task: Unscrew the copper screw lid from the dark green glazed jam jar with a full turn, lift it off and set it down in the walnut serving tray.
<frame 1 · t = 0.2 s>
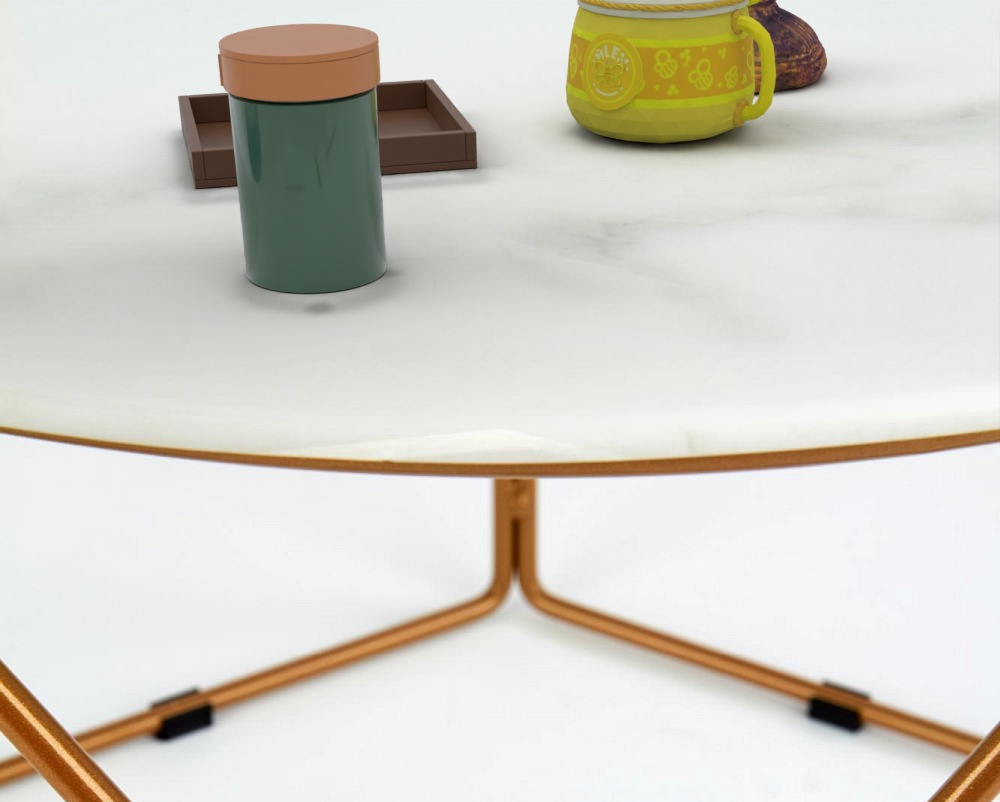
bell: (733, 77, 111), on the table
mug: (672, 134, 99), on the table
lid: (299, 46, 73), point 10 cm above the table, screwed on, not yet turned
tray: (323, 147, 97), on the table
jar: (316, 270, 79), on the table
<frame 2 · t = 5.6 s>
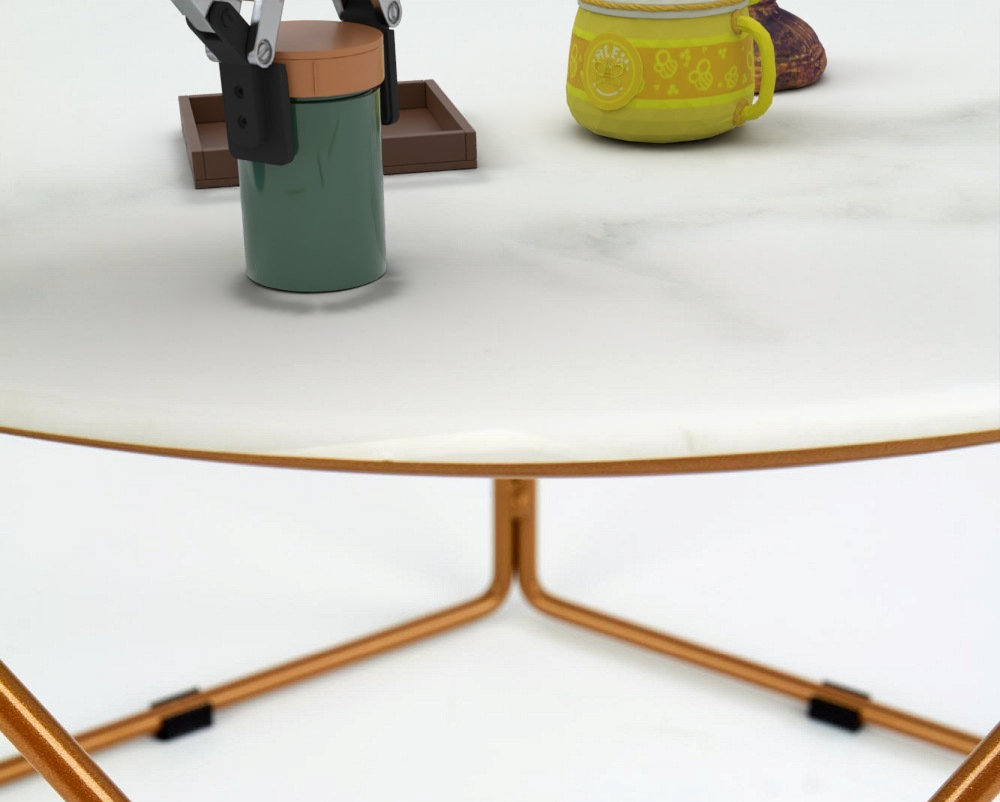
hand: (316, 136, 75), 6 cm above the table, tool pointing down, fingers closed on lid, 6 cm apart
lid: (303, 42, 73), point 10 cm above the table, turned 91° so far, risen 0.1 cm, still on its thread, touching gripper
jar: (316, 269, 79), on the table, touching gripper
everything else where it was.
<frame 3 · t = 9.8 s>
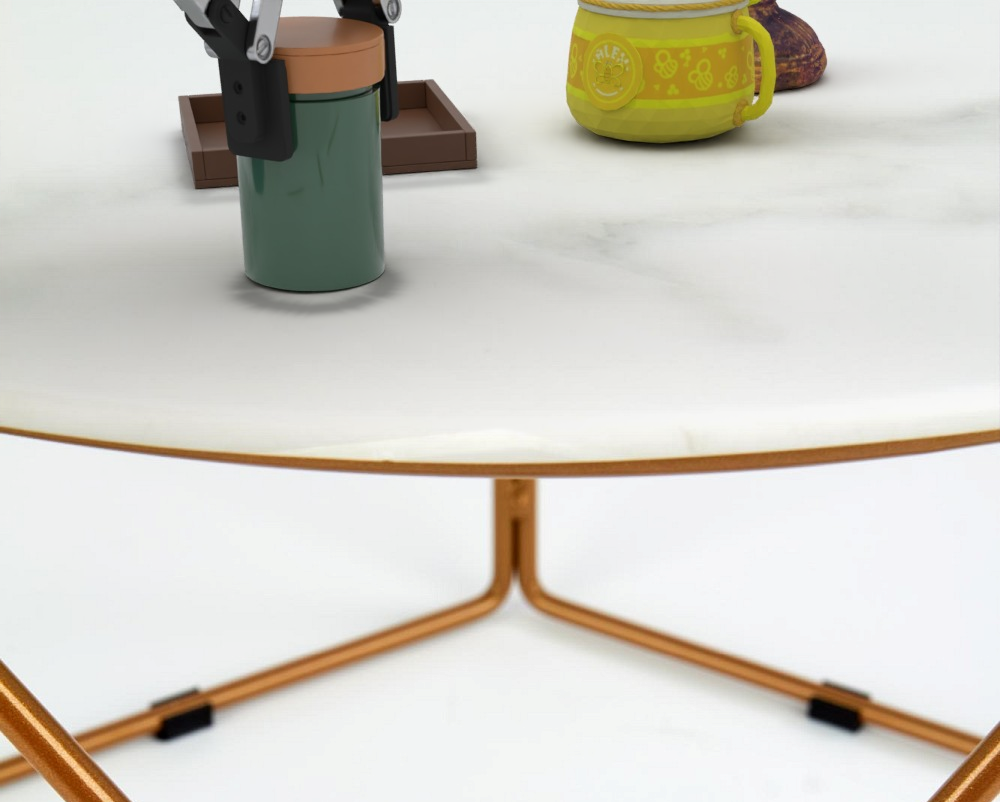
hand: (316, 132, 75), 6 cm above the table, tool pointing down, fingers closed on lid, 6 cm apart
lid: (303, 39, 73), point 10 cm above the table, turned 181° so far, risen 0.2 cm, still on its thread, touching gripper
everything else where it was.
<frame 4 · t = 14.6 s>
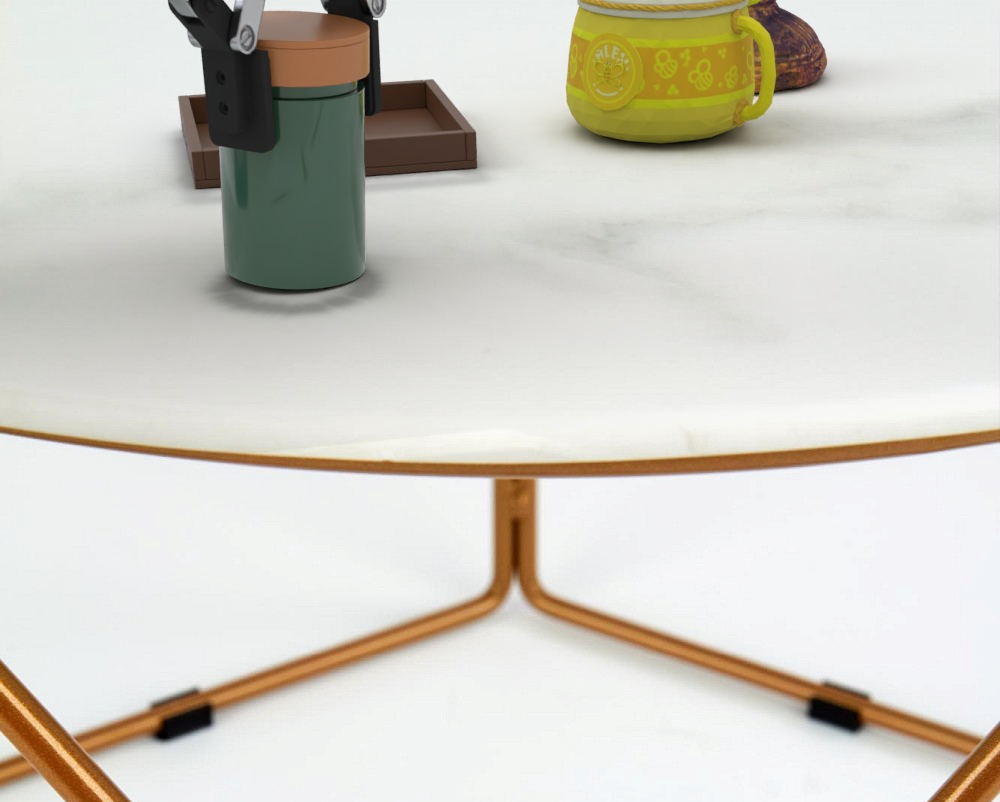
hand: (298, 125, 75), 6 cm above the table, tool pointing down, fingers closed on lid, 6 cm apart
lid: (289, 32, 73), point 10 cm above the table, turned 271° so far, risen 0.4 cm, still on its thread, touching gripper
everything else where it was.
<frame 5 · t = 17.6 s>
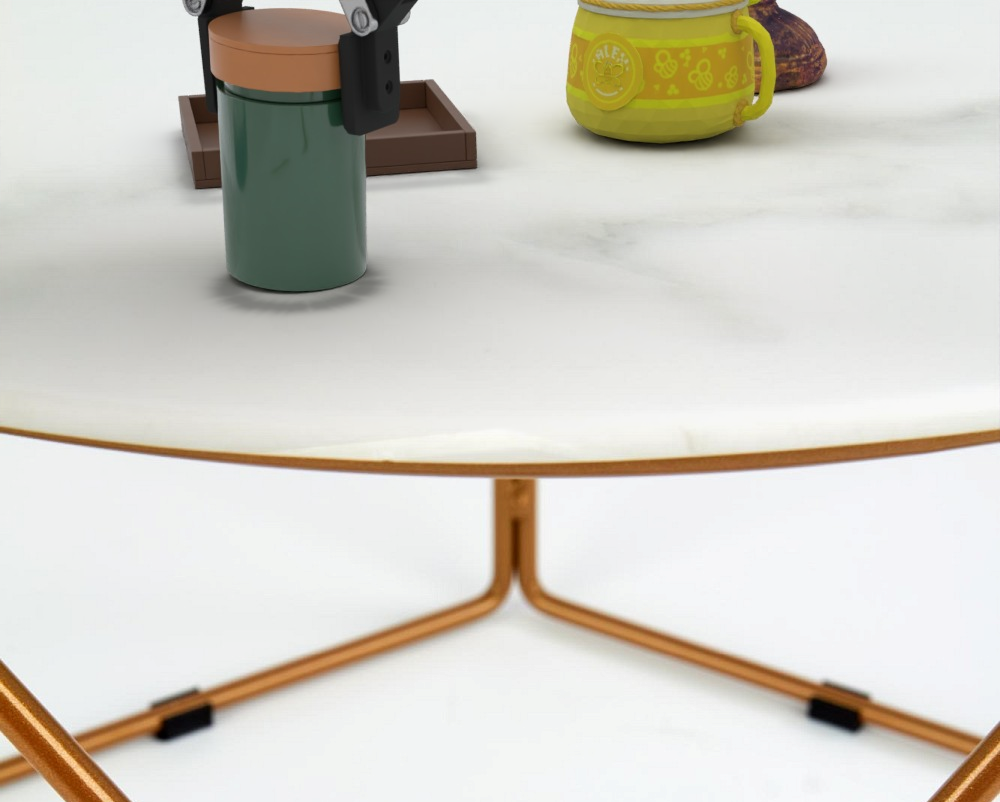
hand: (302, 114, 75), 7 cm above the table, tool pointing down, fingers closed on lid, 6 cm apart
lid: (289, 34, 73), point 10 cm above the table, turned 277° so far, risen 0.4 cm, still on its thread, touching gripper
everything else where it was.
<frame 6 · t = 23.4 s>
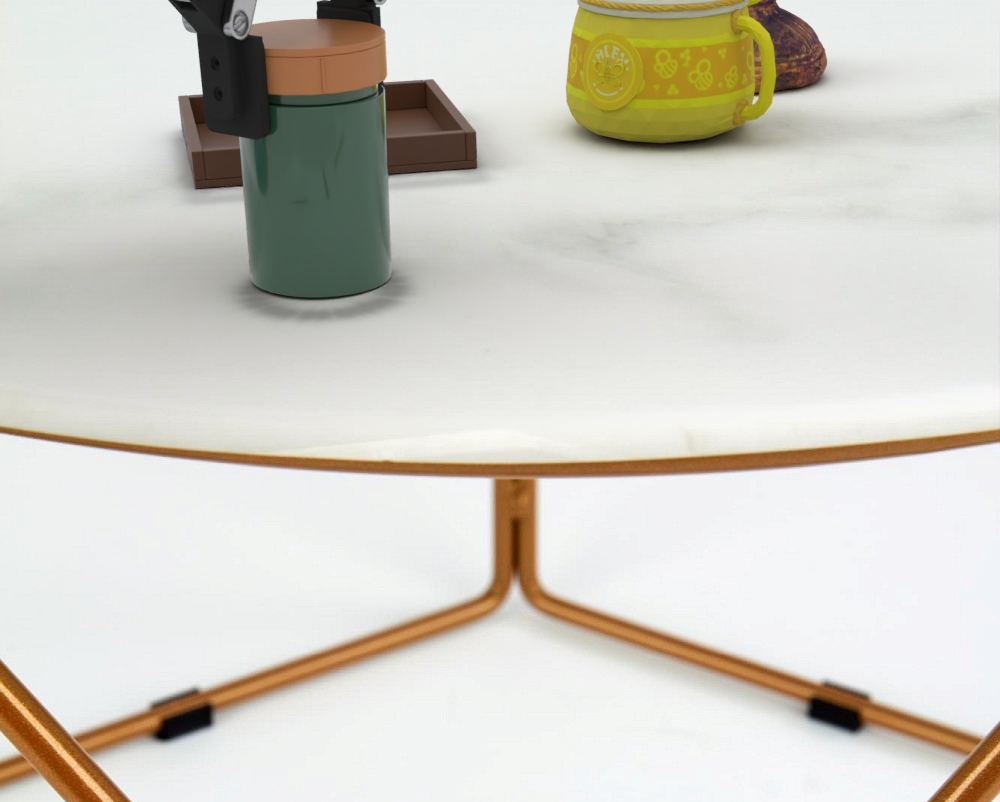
hand: (297, 112, 75), 7 cm above the table, tool pointing down, fingers closed on lid, 6 cm apart
lid: (305, 41, 73), point 10 cm above the table, off its thread, touching gripper
jar: (321, 275, 78), on the table, touching gripper
everything else where it was.
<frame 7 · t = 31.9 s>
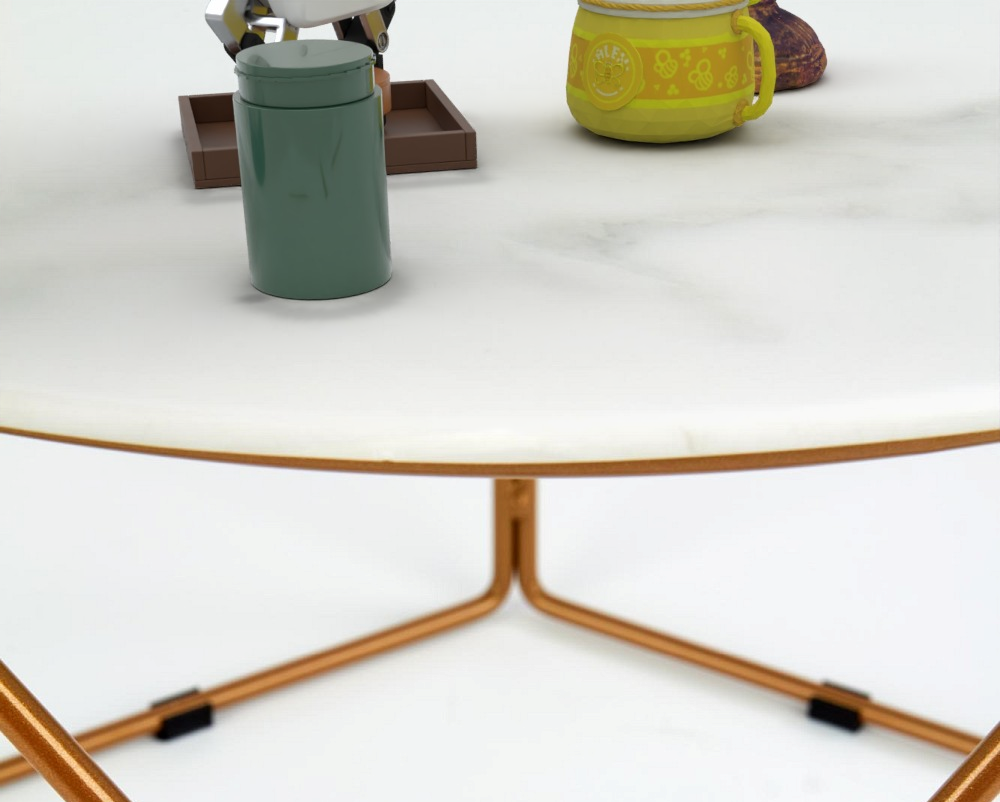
hand: (321, 136, 97), 1 cm above the table, tool pointing down, fingers closed on lid, 6 cm apart
lid: (328, 82, 95), point 4 cm above the table, off its thread, touching gripper
jar: (321, 276, 78), on the table
everything else where it was.
when the fingers open (2 cm above the table, at t = 42.9 s): lid drops 3 cm, resting on tray.
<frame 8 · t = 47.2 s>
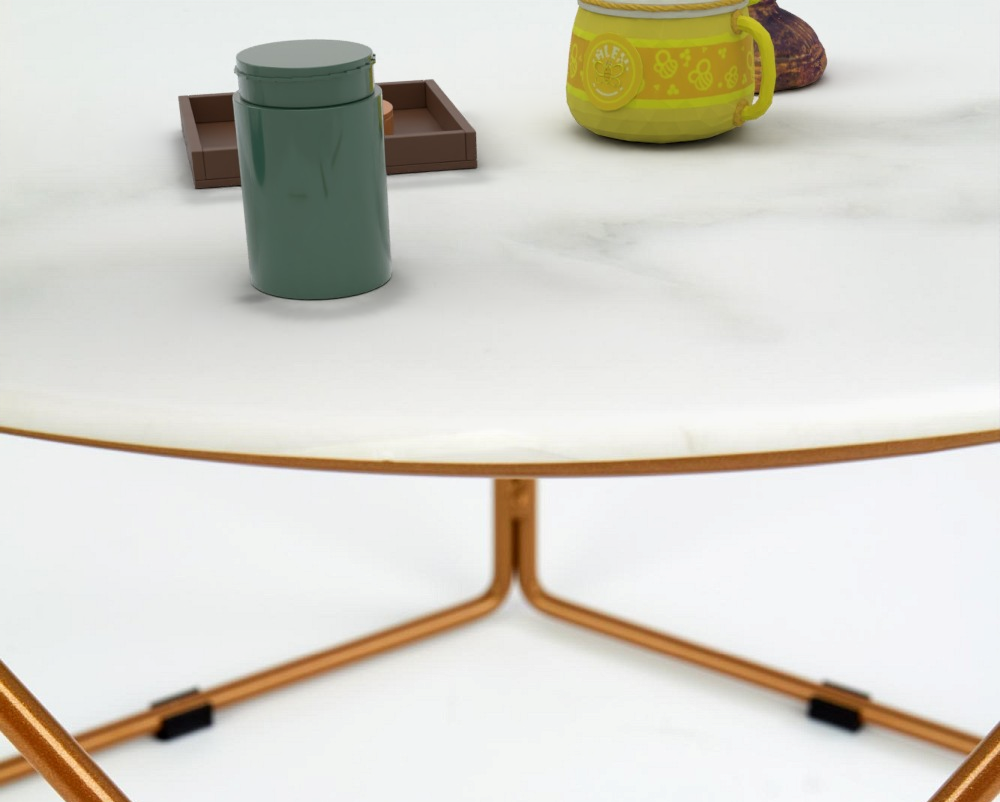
lid: (332, 114, 96), point 2 cm above the table, off its thread, touching tray
everything else where it was.
at the end: lid inside the target area in the tray (0.8 cm from its centre), point 1.9 cm above the tray's base; lid point 1.9 cm above the table; the gripper is holding nothing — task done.
